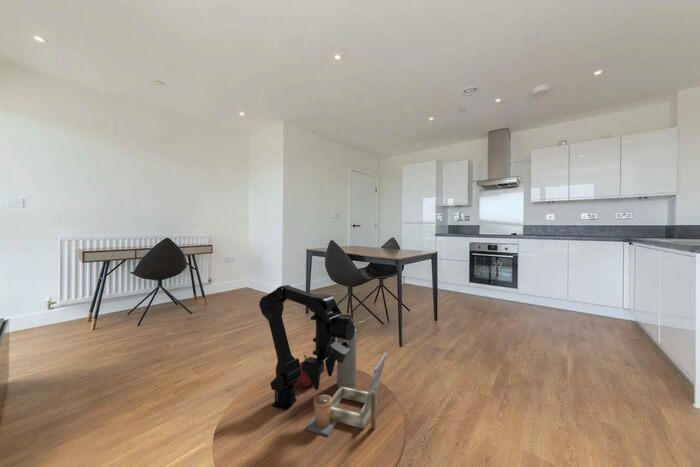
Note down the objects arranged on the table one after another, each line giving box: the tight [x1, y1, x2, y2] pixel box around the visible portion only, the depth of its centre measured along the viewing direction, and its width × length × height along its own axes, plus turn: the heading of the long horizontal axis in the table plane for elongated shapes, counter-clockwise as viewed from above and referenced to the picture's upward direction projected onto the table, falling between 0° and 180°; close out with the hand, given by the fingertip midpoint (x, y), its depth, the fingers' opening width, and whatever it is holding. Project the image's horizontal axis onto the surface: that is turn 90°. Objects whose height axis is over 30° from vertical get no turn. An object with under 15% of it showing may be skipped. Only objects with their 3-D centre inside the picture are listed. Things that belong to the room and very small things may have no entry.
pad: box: [304, 415, 339, 437], centre depth 84 cm, size 8×8×1 cm
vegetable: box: [295, 354, 313, 387], centre depth 110 cm, size 11×10×10 cm
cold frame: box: [331, 352, 388, 430], centre depth 91 cm, size 18×14×19 cm
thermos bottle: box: [336, 314, 357, 389], centre depth 109 cm, size 8×8×28 cm
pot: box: [313, 394, 332, 428], centre depth 84 cm, size 6×6×7 cm
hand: (323, 382), depth 87 cm, fingers open, 9 cm apart
